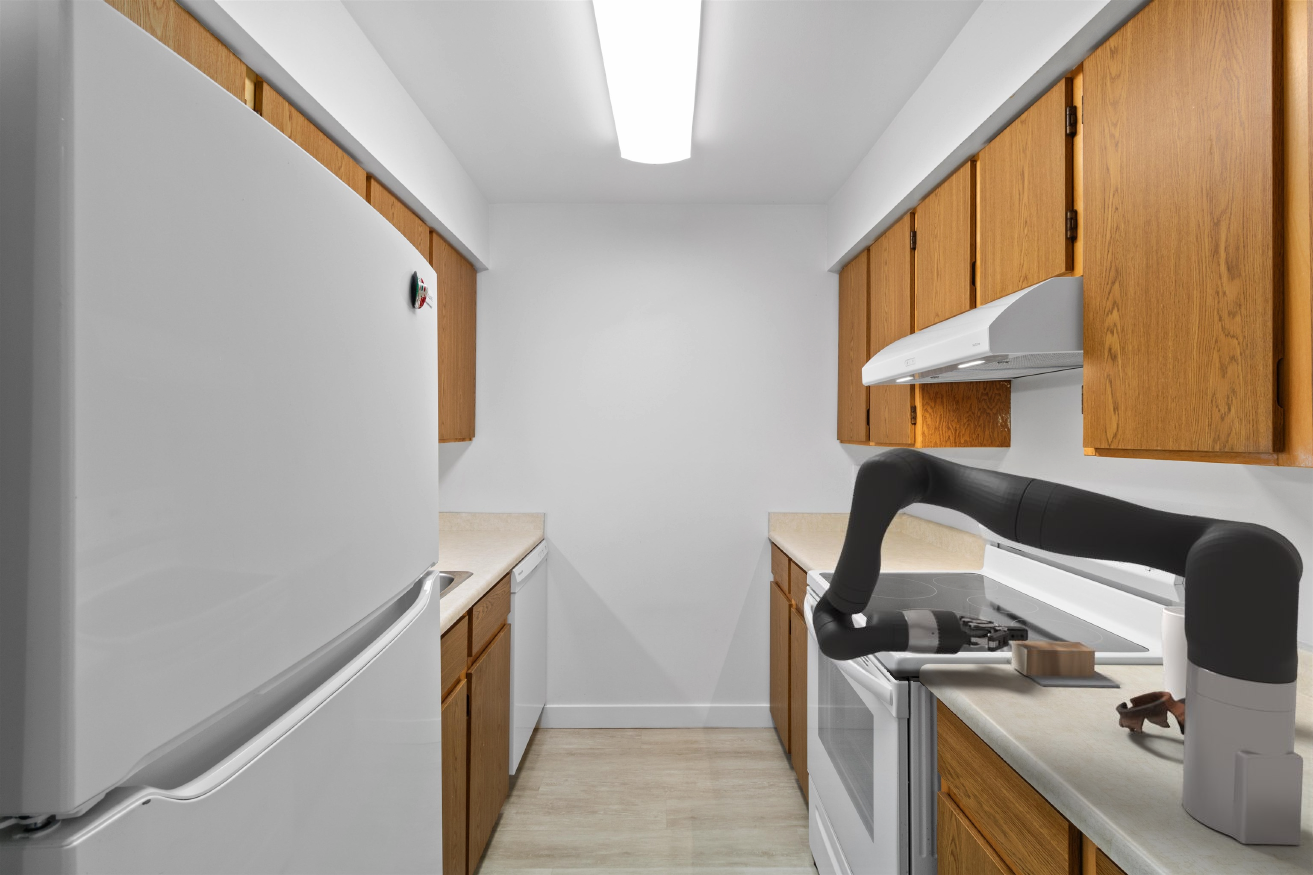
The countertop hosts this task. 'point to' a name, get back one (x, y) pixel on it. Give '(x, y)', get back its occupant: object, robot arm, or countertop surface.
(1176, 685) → the drinking glass
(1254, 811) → the robot arm
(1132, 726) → the brown jagged ring
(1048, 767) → the countertop surface
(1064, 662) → the plain brown block
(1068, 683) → the mat
